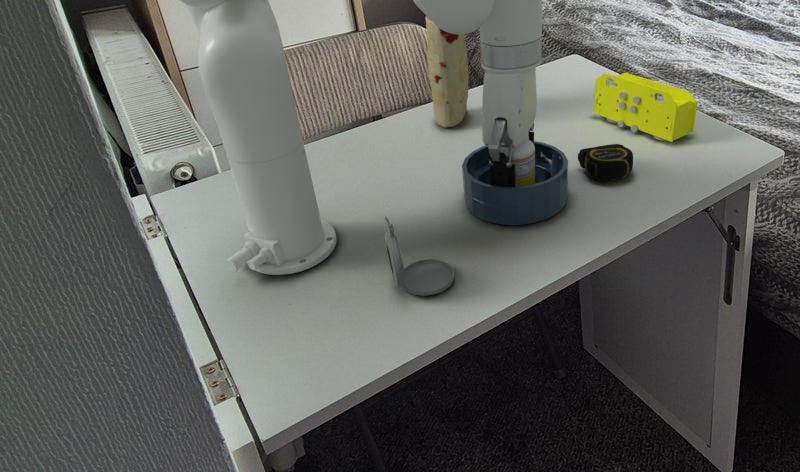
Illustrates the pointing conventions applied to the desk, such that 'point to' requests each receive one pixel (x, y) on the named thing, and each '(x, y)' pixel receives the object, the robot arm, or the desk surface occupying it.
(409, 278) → the pocket watch
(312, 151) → the desk surface
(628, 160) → the tape measure
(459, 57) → the food model
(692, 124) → the yellow toy chassis
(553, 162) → the blue faceted bowl
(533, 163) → the supplement bottle
